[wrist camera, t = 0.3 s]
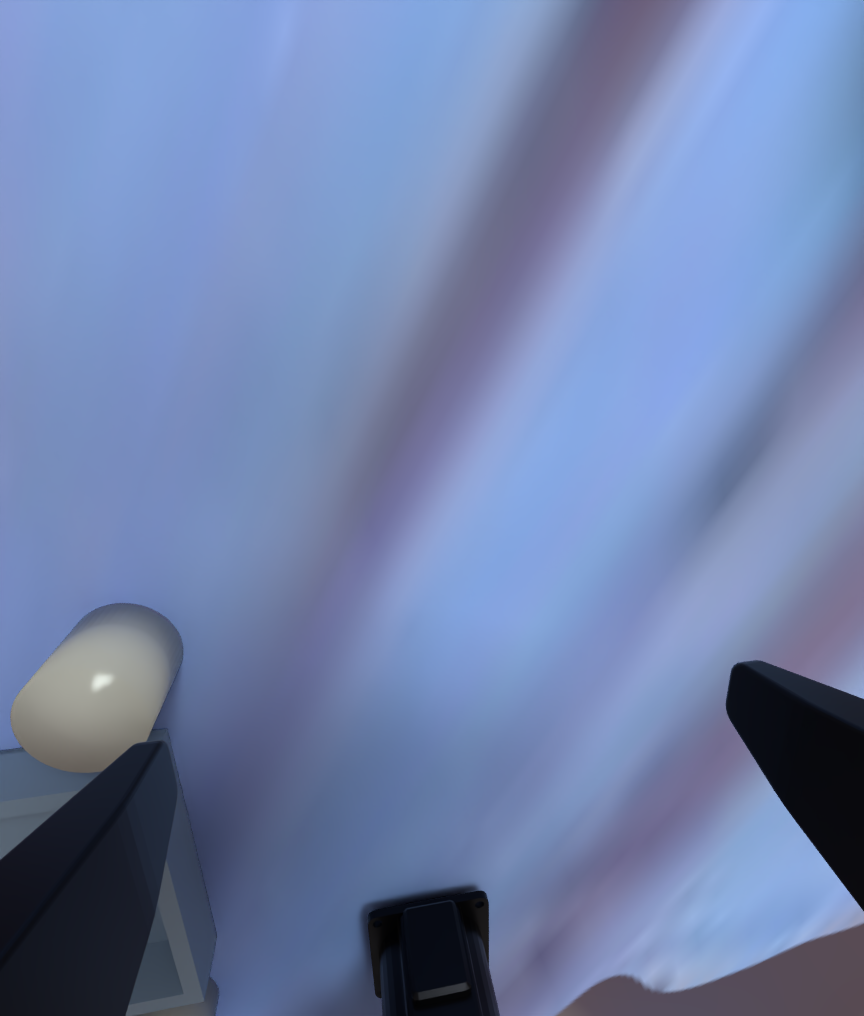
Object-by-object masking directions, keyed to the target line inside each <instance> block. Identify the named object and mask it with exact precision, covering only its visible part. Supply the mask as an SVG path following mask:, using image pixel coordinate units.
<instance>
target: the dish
mask: <svg viewBox="0 0 864 1016" xmlns="http://www.w3.org/2000/svg"><path fill="white" fill-rule="evenodd" d="M155 740H163V741H165V742H166V743H167V745H168V747H169V750H170V754H171V759H172V763H173V767H174V771H175V776H176V780H177V786H178V797H177V804H176V810H175V815H174V820H173V826H172V831H171V836H170V841H169V847H168V852H167V857H166V862H165V868H164V873H163V878H162V883H161V889H160V894H159V899H158V903H157V908H156V913H155V917H154V920H153V924H152V928H151V931H150V935H149V938H148V942H147V945H146V948H145V952H144V955H143V959H142V962H141V965H140V969H139V972H138V975H137V979H136V982H135V985H134V989H133V992H132V995H131V999H130V1002H129V1005H128V1009H127V1012H126V1016H134V1015H139V1014H144V1013H149V1012H154V1011H159V1010H164V1009H169V1008H174V1007H179V1006H184V1005H189V1004H194V1003H199V1002H204V1001H205V996H206V990H207V985H208V980H209V975H210V970H211V965H212V960H213V954H214V949H215V944H216V939H217V934H216V930H215V926H214V921H213V917H212V913H211V909H210V905H209V901H208V897H207V892H206V888H205V884H204V880H203V876H202V872H201V868H200V863H199V859H198V855H197V851H196V847H195V843H194V839H193V834H192V830H191V826H190V822H189V818H188V814H187V810H186V805H185V801H184V797H183V793H182V789H181V785H180V781H179V776H178V772H177V768H176V764H175V760H174V756H173V751H172V747H171V743H170V739H169V735H168V731H167V728H166V729H159V730H151V732H150V734H149V736H148V739H147V741H155ZM147 741H146V742H147ZM101 772H102V771H100V772H93V773H76V772H68V771H63V770H60V769H56V768H53V767H51V766H48V765H46V764H44V763H42V762H40V761H38V760H37V759H35V758H34V757H32V756H31V755H30V754H29V753H28V752H27V751H25V750H24V748H17V749H9V750H2V751H0V859H2V858H3V857H4V856H5V855H6V854H7V853H8V852H10V851H11V850H12V849H13V848H14V847H15V846H17V845H18V844H19V843H20V842H21V841H22V840H23V839H25V838H26V837H27V836H28V835H29V834H30V833H32V832H33V831H34V830H35V829H36V828H37V827H38V826H40V825H41V824H42V823H43V822H44V821H45V820H47V819H48V818H49V817H50V816H51V815H52V814H53V813H55V812H56V811H57V810H58V809H59V808H60V807H62V806H63V805H64V804H65V803H66V802H67V801H68V800H70V799H71V798H72V797H73V796H74V795H75V794H77V793H78V792H79V791H80V790H81V789H82V788H83V787H85V786H86V785H87V784H88V783H89V782H90V781H92V780H93V779H94V778H95V777H96V776H97V775H98V774H100V773H101Z"/></svg>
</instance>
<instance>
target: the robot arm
mask: <svg viewBox="0 0 864 1016" xmlns="http://www.w3.org/2000/svg"><path fill="white" fill-rule="evenodd" d="M726 710H727V714H728V717H729V719H730V721H731V722H732V724H733V726H734V727H735V729H736V730H737V732H738V734H739V735H740V737H741V738H742V740H743V742H744V743H745V745H746V746H747V748H748V749H749V751H750V753H751V754H752V756H753V757H754V759H755V761H756V762H757V764H758V765H759V767H760V769H761V770H762V772H763V773H764V775H765V777H766V778H767V780H768V781H769V783H770V785H771V786H772V788H773V789H774V791H775V792H776V794H777V795H778V797H779V798H780V800H781V801H782V803H783V804H784V806H785V807H786V809H787V810H788V811H789V813H790V814H791V815H792V817H793V818H794V820H795V821H796V822H797V824H798V825H799V826H800V828H801V829H802V830H803V832H804V833H805V834H806V836H807V837H808V838H809V840H810V841H811V842H812V843H813V845H814V846H815V847H816V849H817V850H818V851H819V853H820V854H821V855H822V857H823V858H824V859H825V861H826V862H827V863H828V865H829V866H830V867H831V869H832V870H833V871H834V873H835V874H836V875H837V877H838V878H839V879H840V881H841V882H842V883H843V885H844V886H845V887H846V889H847V890H848V891H849V892H850V894H851V895H852V896H853V898H854V899H855V900H856V902H857V903H858V904H859V906H860V907H861V908H862V910H863V911H864V699H862V698H859V697H857V696H854V695H851V694H849V693H846V692H843V691H841V690H838V689H835V688H833V687H830V686H827V685H825V684H822V683H819V682H817V681H814V680H811V679H809V678H806V677H803V676H801V675H798V674H795V673H793V672H790V671H787V670H785V669H782V668H779V667H777V666H774V665H771V664H769V663H766V662H763V661H758V660H755V661H747V662H740V663H737V664H735V665H734V666H733V668H732V670H731V674H730V680H729V686H728V692H727V698H726ZM177 797H178V786H177V780H176V776H175V771H174V767H173V763H172V759H171V754H170V750H169V747H168V745H167V743H166V742H165V741H163V740H155V741H147V742H140V743H136V744H134V745H132V746H131V747H130V748H128V749H127V750H126V751H125V752H124V753H123V754H122V755H120V756H119V757H118V758H117V759H116V760H115V761H113V762H112V763H111V764H110V765H109V766H108V767H107V768H105V769H104V770H103V771H102V772H101V773H100V774H98V775H97V776H96V777H95V778H94V779H93V780H92V781H90V782H89V783H88V784H87V785H86V786H85V787H83V788H82V789H81V790H80V791H79V792H78V793H77V794H75V795H74V796H73V797H72V798H71V799H70V800H68V801H67V802H66V803H65V804H64V805H63V806H62V807H60V808H59V809H58V810H57V811H56V812H55V813H53V814H52V815H51V816H50V817H49V818H48V819H47V820H45V821H44V822H43V823H42V824H41V825H40V826H38V827H37V828H36V829H35V830H34V831H33V832H32V833H30V834H29V835H28V836H27V837H26V838H25V839H23V840H22V841H21V842H20V843H19V844H18V845H17V846H15V847H14V848H13V849H12V850H11V851H10V852H8V853H7V854H6V855H5V856H4V857H3V858H2V859H0V1016H126V1012H127V1009H128V1005H129V1002H130V999H131V995H132V992H133V989H134V985H135V982H136V979H137V975H138V972H139V969H140V965H141V962H142V959H143V955H144V952H145V948H146V945H147V942H148V938H149V935H150V931H151V928H152V924H153V920H154V917H155V913H156V908H157V903H158V899H159V894H160V889H161V883H162V878H163V873H164V868H165V862H166V857H167V852H168V847H169V841H170V836H171V831H172V826H173V820H174V815H175V810H176V804H177ZM368 931H369V940H370V949H371V959H372V968H373V977H374V986H375V994H376V996H377V997H378V998H382V1012H383V1016H500V1014H499V1009H498V1005H497V1001H496V997H495V992H494V988H493V984H492V979H491V975H490V971H489V903H488V899H487V895H486V893H485V892H484V891H475V892H469V893H464V894H458V895H453V896H448V897H442V898H437V899H432V900H426V901H421V902H415V903H410V904H405V905H399V906H394V907H388V908H383V909H378V910H374V911H372V912H370V913H369V915H368Z"/></svg>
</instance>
